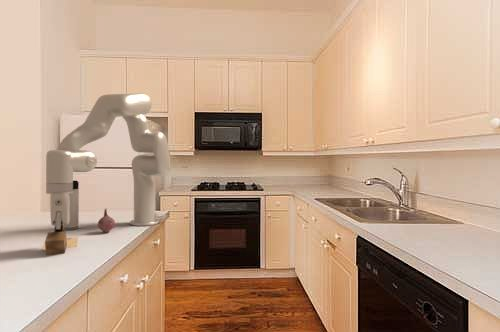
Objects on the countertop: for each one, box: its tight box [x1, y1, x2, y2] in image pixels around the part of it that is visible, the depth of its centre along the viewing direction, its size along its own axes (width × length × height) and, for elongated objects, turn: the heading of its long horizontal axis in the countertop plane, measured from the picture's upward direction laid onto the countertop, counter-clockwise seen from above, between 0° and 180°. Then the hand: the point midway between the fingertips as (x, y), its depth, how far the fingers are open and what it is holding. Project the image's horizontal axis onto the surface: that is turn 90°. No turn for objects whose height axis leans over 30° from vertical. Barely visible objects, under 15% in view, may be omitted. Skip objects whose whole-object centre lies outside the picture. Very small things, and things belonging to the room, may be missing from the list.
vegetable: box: [97, 208, 116, 234], centre depth 133 cm, size 6×6×10 cm
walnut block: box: [44, 230, 68, 256], centre depth 104 cm, size 5×5×5 cm
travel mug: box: [65, 180, 80, 231], centre depth 141 cm, size 6×7×20 cm
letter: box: [41, 236, 79, 251], centre depth 116 cm, size 10×15×1 cm, turn 26°
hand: (59, 245), depth 108 cm, fingers closed
